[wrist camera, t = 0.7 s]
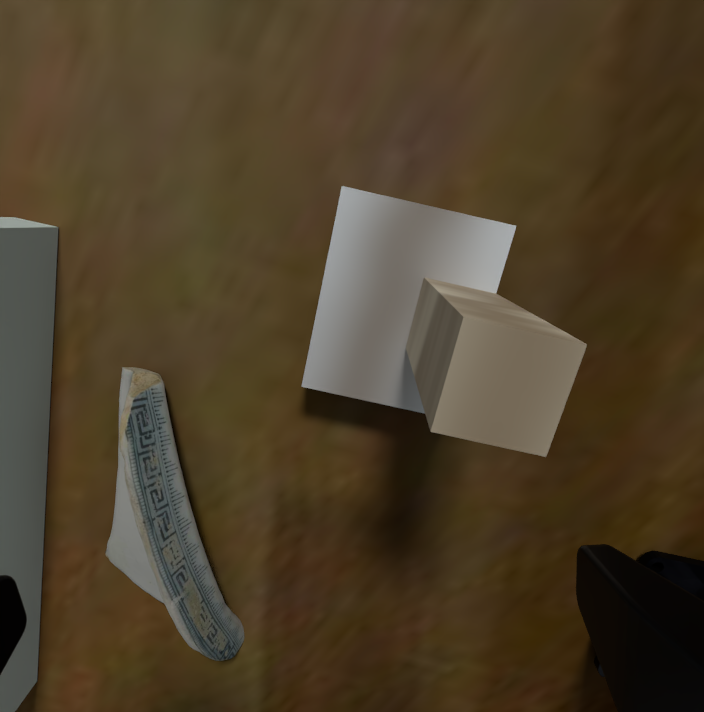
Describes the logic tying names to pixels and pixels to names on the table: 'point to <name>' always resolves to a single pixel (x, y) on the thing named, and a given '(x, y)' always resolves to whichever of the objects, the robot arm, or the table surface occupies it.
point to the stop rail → (24, 428)
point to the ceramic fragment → (164, 522)
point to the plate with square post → (436, 325)
